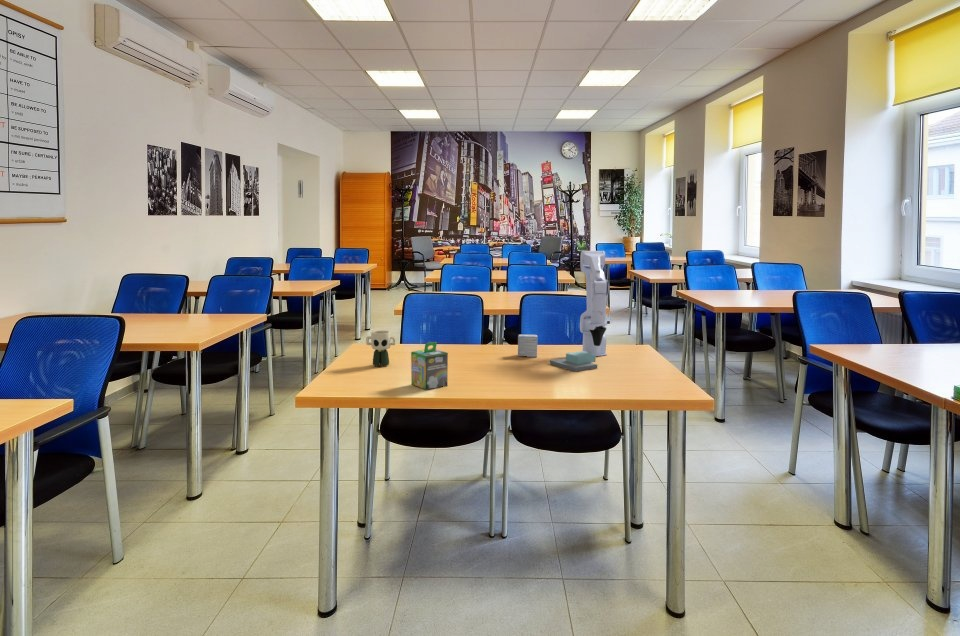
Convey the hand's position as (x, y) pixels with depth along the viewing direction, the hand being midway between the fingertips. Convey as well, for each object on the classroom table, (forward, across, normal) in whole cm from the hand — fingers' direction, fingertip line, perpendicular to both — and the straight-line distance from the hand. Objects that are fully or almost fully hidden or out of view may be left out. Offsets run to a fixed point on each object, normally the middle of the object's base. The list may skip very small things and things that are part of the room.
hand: (597, 345), depth 251 cm
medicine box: (+7, +4, -28) cm, 30 cm away
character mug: (+7, +53, -65) cm, 84 cm away
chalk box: (+7, +66, -32) cm, 74 cm away
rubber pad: (+7, +11, -5) cm, 14 cm away
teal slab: (+4, +3, -2) cm, 5 cm away
